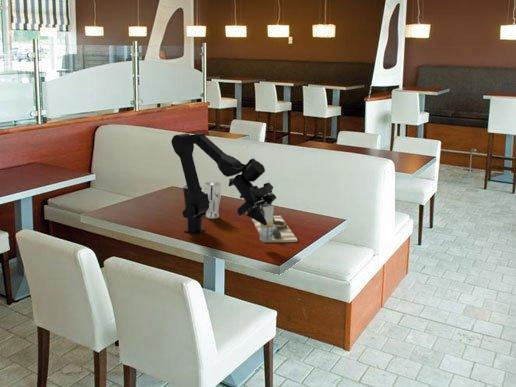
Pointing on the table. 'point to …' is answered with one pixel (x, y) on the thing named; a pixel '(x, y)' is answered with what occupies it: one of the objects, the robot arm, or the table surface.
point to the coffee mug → (187, 194)
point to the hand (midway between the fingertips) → (269, 223)
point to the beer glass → (213, 199)
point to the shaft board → (283, 232)
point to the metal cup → (267, 229)
